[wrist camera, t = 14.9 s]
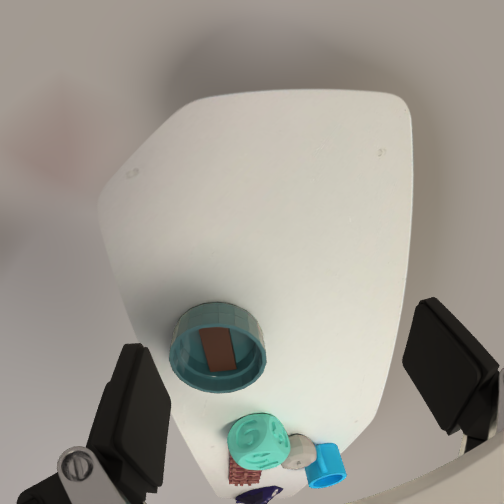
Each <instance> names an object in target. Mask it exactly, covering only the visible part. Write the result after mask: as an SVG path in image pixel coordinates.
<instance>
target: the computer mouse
mask: <svg viewBox="0 0 504 504" xmlns="http://www.w3.org/2000/svg"><path fill="white" fill-rule="evenodd" d="M282 490H283V488H280V487H277V486H270V487H263V488H259V489H255V490H251V491H248V492H245V493H243V494H241V495H239V496H237V497H236V498H235V499H236V500H237V501H236V503H244V504H267V503H268V502H269V501H270V500H271V499H272V498H273V497H274V496H275V495H276V494H278V493H280V492H281V491H282Z"/></svg>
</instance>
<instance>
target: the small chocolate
mask: <svg viewBox="0 0 504 504" xmlns="http://www.w3.org/2000/svg"><path fill="white" fill-rule="evenodd" d="M199 334H200V338H201V341H202V345H203V348H204V352H205V356H206V359H207V362H208V366H209V369H210V372H217V371H227V370H235V369H237V367H236V358H235V353H234V348H233V343H232V338H231V333H230V328H223V327H209V328H202V329H199Z"/></svg>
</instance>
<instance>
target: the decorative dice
mask: <svg viewBox="0 0 504 504" xmlns="http://www.w3.org/2000/svg"><path fill="white" fill-rule="evenodd" d="M227 443H228V448H229V451H230V454H231V456H232V458H233V459H234V460H235V462H236V463H237V464H238V465H239V466H241V467H243V468H245V469H249V470H265V469H270V468H274V467H276V466H278V465H280V464H281V463H283V462H284V460H285V459H286V458H287V456H288V455H289V453H290V441H289V438H288V435H287V433H286V431H285V429H284V427H283V425H282V424H281V422H280V421H279V420H278V419H277V418H276V417H274V416H272V415H268V414H252V415H248V416H245V417H243V418H241V419H240V420H238V421H237V422H236V423H235V424H234V425H233V426H232V428H231V429H230V431H229V434H228V438H227Z"/></svg>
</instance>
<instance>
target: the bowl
mask: <svg viewBox="0 0 504 504" xmlns="http://www.w3.org/2000/svg"><path fill="white" fill-rule="evenodd" d="M209 327H223V328H230V333H231V338H232V343H233V348H234V353H235V358H236V367H237V369H235V370H227V371H217V372H210V369H209V366H208V362H207V359H206V356H205V352H204V348H203V345H202V341H201V338H200V334H199V329H202V328H209ZM169 361H170V364H171V367H172V370H173V371H174V373H175V374H176V375H177V376H178V378H179V379H180V380H181V381H183V382H184V383H186V384H187V385H189V386H190V387H192V388H195V389H198V390H201V391H204V392H210V393H231V392H234V391H238V390H241V389H244V388H246V387H247V386H249V385H251V384H252V383H254V382H255V381H256V380H257V379H258V378H259V377H260V376H261V375H262V373H263V371H264V368H265V366H266V363H267V361H266V350H265V345H264V339H263V334H262V330H261V328H260V326H259V324H258V322H257V320H256V319H255V318H254V317H253V316H252V315H251V314H249V313H248V312H247V311H246V310H244V309H241V308H239V307H237V306H235V305H232V304H226V303H220V302H217V303H206V304H202V305H199V306H197V307H194V308H192V309H190V310H189V311H187V312H186V313H185V314H184V315H183V316H181V317H180V319H179V321H178V322H177V324H176V326H175V328H174V333H173V337H172V342H171V346H170V353H169Z"/></svg>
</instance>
